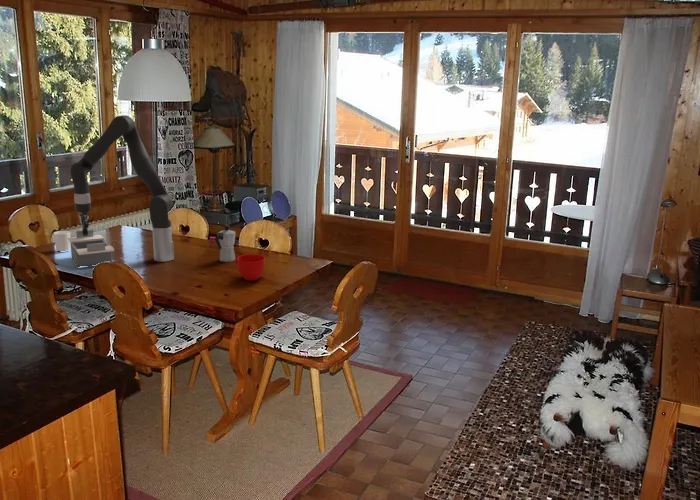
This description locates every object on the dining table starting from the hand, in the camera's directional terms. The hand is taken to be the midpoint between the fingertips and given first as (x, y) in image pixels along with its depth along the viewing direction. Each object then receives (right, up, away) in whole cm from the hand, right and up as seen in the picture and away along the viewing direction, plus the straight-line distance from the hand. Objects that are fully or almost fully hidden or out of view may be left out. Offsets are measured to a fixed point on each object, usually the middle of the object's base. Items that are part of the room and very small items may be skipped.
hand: (85, 235), depth 336 cm
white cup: (-16, -8, +12) cm, 22 cm away
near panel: (+12, -8, -19) cm, 24 cm away
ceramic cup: (+86, -21, -23) cm, 92 cm away
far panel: (0, -2, +1) cm, 2 cm away
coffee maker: (+71, -13, +4) cm, 72 cm away
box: (+6, -14, -6) cm, 16 cm away
